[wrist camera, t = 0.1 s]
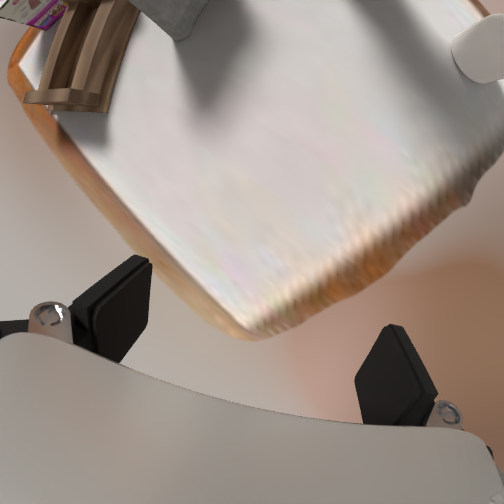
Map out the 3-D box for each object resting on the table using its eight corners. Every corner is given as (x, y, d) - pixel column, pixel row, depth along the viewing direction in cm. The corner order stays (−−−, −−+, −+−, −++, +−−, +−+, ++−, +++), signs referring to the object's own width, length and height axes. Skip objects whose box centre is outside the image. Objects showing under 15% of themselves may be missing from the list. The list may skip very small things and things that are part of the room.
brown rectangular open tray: (50, 110, 38) (17, 109, 30) (86, 2, 30) (59, -12, 21) (107, 112, 38) (73, 108, 29) (148, -9, 29) (124, -31, 21)
